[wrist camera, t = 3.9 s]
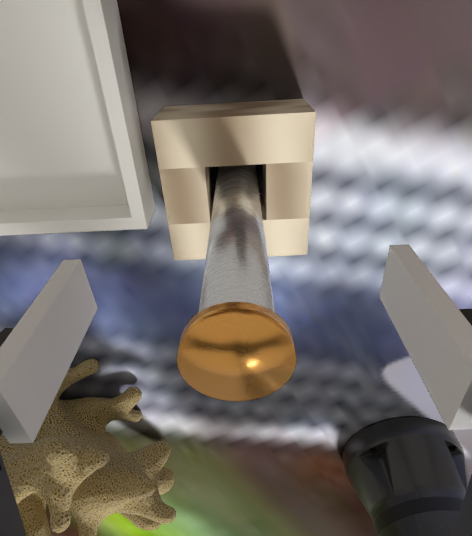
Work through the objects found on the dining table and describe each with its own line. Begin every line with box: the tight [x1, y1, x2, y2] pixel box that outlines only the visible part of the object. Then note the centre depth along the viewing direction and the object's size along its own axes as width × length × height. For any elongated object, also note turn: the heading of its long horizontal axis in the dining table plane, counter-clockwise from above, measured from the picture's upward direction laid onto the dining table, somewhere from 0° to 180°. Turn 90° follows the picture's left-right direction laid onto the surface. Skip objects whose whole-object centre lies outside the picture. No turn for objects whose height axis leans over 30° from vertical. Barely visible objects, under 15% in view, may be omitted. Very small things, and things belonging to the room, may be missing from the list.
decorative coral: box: [0, 359, 176, 536], centre depth 37 cm, size 26×22×25 cm
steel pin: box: [177, 165, 296, 401], centre depth 21 cm, size 4×4×20 cm
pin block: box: [151, 99, 316, 260], centre depth 27 cm, size 10×10×5 cm
